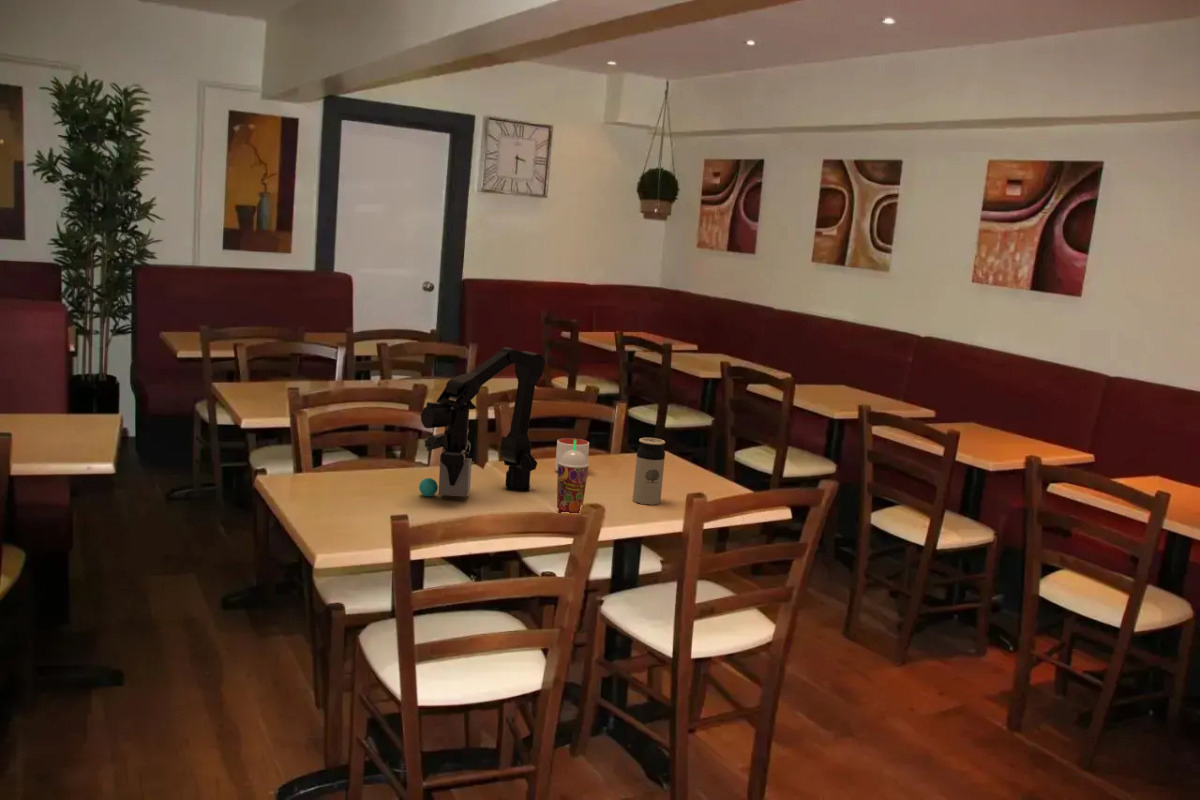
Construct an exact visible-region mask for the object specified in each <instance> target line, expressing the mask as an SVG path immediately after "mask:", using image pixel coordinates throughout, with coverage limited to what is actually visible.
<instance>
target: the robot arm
mask: <svg viewBox="0 0 1200 800" xmlns="http://www.w3.org/2000/svg"><path fill="white" fill-rule="evenodd" d="M510 365H514V373H515V376H516V380H517V386H516V388H517V389H516V394H515V399H514V407H513V412H512V413H513V414H512V419H511V426H510V431H509V432H508V434H507V435H506V436H502V437H501V439H500V441H501V442H500V443H501V444H500V447H499V451H500V456H501V457H502V460H503V463H504V466H507V467H508V469H507V470H506V473H505V487H506V490H507V491H508V490H509V491H518V492H519V491H520V492H521V491H522V492H529V491H530V490H531V489H530V488H531V484H530V483H531V472H532V471H536V469H537V467H538V462H537V460H536V459H535V458H534V457H533V456H532V454H531V451H532V450H531V449H532V447H531V446H532V445H531V441H530V438H529V435H528V432H529V427H530V420H531V414H532V408H533V407H532V406H533V401H534V395H535V390H536V385H537V384H538V382H539V380H540V379H541V378H542V377H543V374H544V370H545V367H546V360H545V358H544V356H543V355H542V354H539V353H536V352H532V351H526V350H522V351H519V350H516V349H515V348H510V347H507V346H506V347H501V348H500V349H499V350H498V351H497V352H496V353H495V354H493V355H492V356H491V357H489V358H488V359H486V360H485V361H484V362H482V363H481V364H479V365H478V366H477V367H475V368H474V369H472V370H471V371H469V372H466V373H463V374H459V375H457V376H455V377H453V378H450V379H448V381H447V382H446V384H445V385H446V386H445V387H444V389H443V390H442V392H441V394H440V395H439V396H438V398H437V400H436V402H432V401H427V402H426V405H425V407H424V408H423V409H422V411H421V413H420V421H421V424H422V425H423V427H424V428H425V429H436V428H446V429H445V430H444V432H442V433H438V434H433V435H431V436H430V435H428V436H427V437H425V438H424V440H423V442H424V447H425V448H426V450H427V452H432V451H433V450H436V449H440V448H442V449H443V451H442V452H441V453H440V455H439V456H440V458H439V459H440V461H439V463H440V462H442V464H444V465H445V466H446V467H447V470H448V476H449V481H450V485H451V486H454V485H455V483H456V480H457V478H458V476H459V474H460V472H461V469H462V467H463V465H464V463H465V458H468V456H469V455H470V451H471V445H472V444H471V442H470V441H469V440H468V434H469V432H470V429H469V421H470V420H469V418H470V410H476V409H477V406H476V405H475V404H474V403H473V402H472V400H473V399H474V398H475V397H476V396H477V395H478V394H479V391H480V390H481V387H482V386H483V385H484V384H486V383H487V382H489V381H490V380H491V379H492V378H495V376H497V375H498V374H499V373H501V372H502V371H504V370H505V369H506V368H508V367H509V366H510ZM466 450H467V451H466Z"/></svg>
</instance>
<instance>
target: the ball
mask: <svg viewBox="0 0 1200 800" xmlns="http://www.w3.org/2000/svg"><path fill="white" fill-rule="evenodd" d="M418 489H419V492H420V494H421V495H423V496H424V497H433V496H434V495H435V494H437V492H438V490H439V484H438V483H437V481H436V480H435V479H433V478H431V477H426V478H424V479H422V480H421V481H420V483H419V485H418Z"/></svg>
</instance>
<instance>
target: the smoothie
mask: <svg viewBox="0 0 1200 800" xmlns="http://www.w3.org/2000/svg"><path fill="white" fill-rule="evenodd" d="M589 466H590V463H589V461H588V462H587V459H586V457H585V455H584V454H583V453H582V452H580V451H578V450H576V440H574V446H573V450H569V451H566V452H565V453H564V454H563V455H562V456H561V458H560V460H559V461H558V472H557V479H556V482H557V488H556V491H557V492H556V493H557V494H556V495H557V496H556V507H557V509H558V512H569V513H579V511H580V507H581V505H583V506H584V499H585V493H586V487H587V479H588V471H589ZM580 512H581V511H580Z"/></svg>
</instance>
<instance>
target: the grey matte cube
mask: <svg viewBox="0 0 1200 800" xmlns="http://www.w3.org/2000/svg"><path fill="white" fill-rule="evenodd" d="M472 462H473V458H468V457H467V458H465V463H464V465H463V467H462V469H461V472H460V474H459V476H458V478H457V480H456V483H455V485H454V486H451V485H450V481H449V476H448V470H447V467H446V466H445V465H444V464H442V462H440V461H439V476H438V477H439V478H438V479H439V480H438V496H450V497H453V496H454V497H465V498H466V497H468V495H469V493H470V490H471V479H472Z"/></svg>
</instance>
